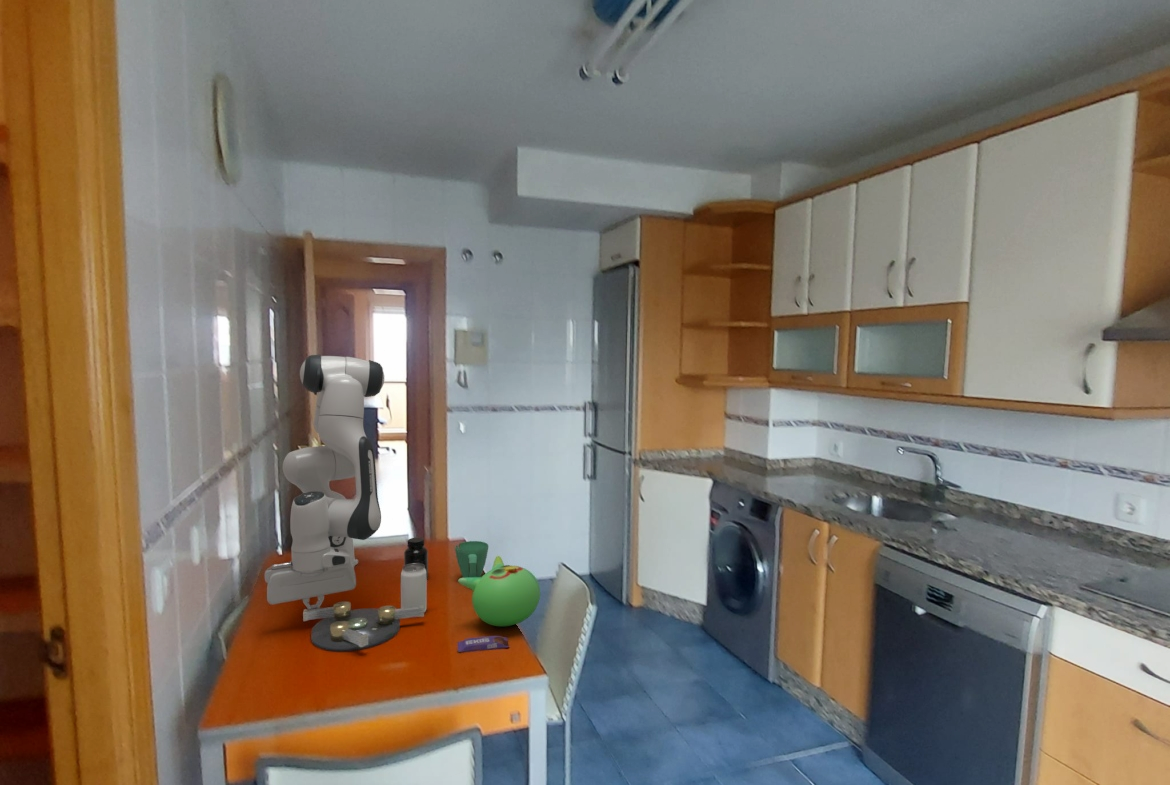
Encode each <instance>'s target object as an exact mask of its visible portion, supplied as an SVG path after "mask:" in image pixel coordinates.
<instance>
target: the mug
mask: <svg viewBox="0 0 1170 785" xmlns="http://www.w3.org/2000/svg"><path fill="white" fill-rule="evenodd" d="M454 550H455V557H456V559H457V564H458V567H459V571H460V573H461V576H462V578H467V577H482V574H483V571H484V569H485V568H484V567H485V565H486V562H487V561H486V560H487V558H488V551H489V544H488V543H486V542H484V541H479V540H478V541H477V540H470V541H469V540H468V541H463V542H460V543H459V544H456V545H455V546H454Z"/></svg>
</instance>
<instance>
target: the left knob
mask: <svg viewBox="0 0 1170 785" xmlns="http://www.w3.org/2000/svg"><path fill="white" fill-rule="evenodd" d="M377 609H378V622H379V623H380V624H390V623H393V622H395V619H400V620H401V619H409V618H417V617H419V618H422V617H425V612H424V605H420V606H418V607H409V608H401V607H400V608H396V606H394V605H383V606H381V607H379V608H377Z"/></svg>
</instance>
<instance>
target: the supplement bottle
mask: <svg viewBox="0 0 1170 785" xmlns="http://www.w3.org/2000/svg"><path fill="white" fill-rule="evenodd" d="M406 546H407V548H406V549H405V550H404V553H403V554H404V556H403V557H404V559H403V560H404V564H403V566H405V565H407V564H412V563H420V564H424V565H425V567H424V568H425V570H426V578H427V579H428V576H429V552H428V549H427V548H426V547H425V538H423V537H411V538H409V539H407V545H406Z"/></svg>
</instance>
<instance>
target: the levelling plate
mask: <svg viewBox="0 0 1170 785" xmlns="http://www.w3.org/2000/svg"><path fill="white" fill-rule="evenodd" d="M378 609H379V608H357V609H351V616H350V617H349V618H347V619H343V620H336V619H334V617H328V618H322V619H321V620H320V621H318V622H317V623H316V624H315V625H314V626H312V628H311V635H310V636H311V642H312V644H313V645H314V646H315V647H317V648H318V649H321V650H324V651H329V652H336V653H337V652H340V653H342V652H354V651H360V650H361V651H362V650H366V649H369V648H374V647H376V646H379V645H382V644H384V643H386V642H388V641H389V640H391V639H393V638H394V637H395V636H397V634H398V633H399V631H400V628H401V619H395V622H393V623H390V624H380V623H379V622H378ZM338 621H347V622H348V623H349V629H351V630H354V631H357V632H359V633H362V634H368V645H366V646H364V647H359V645H357V644H354V643H352V642H349V641H346V640H343V641H332V640H331V639H330V625H331V624H332V623H335V622H338Z"/></svg>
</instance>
